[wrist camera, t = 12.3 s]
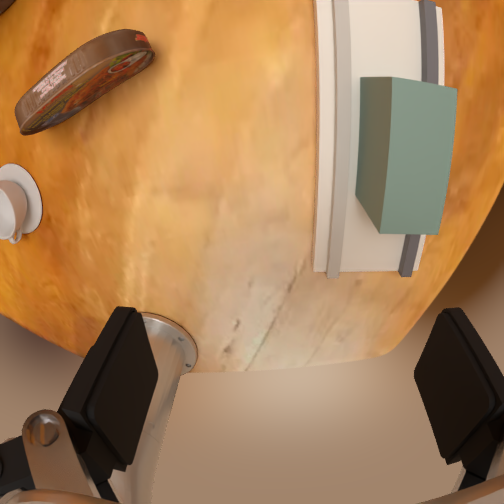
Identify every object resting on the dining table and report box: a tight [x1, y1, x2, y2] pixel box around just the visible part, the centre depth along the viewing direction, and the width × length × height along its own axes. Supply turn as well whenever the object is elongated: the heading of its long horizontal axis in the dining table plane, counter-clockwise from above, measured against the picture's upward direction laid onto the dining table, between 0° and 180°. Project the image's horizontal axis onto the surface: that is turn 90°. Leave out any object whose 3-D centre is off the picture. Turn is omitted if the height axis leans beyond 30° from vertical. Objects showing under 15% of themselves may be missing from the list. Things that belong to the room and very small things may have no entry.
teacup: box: [0, 164, 42, 244], centre depth 31 cm, size 10×10×5 cm
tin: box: [15, 29, 155, 135], centre depth 22 cm, size 15×3×8 cm, turn 112°
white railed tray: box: [312, 0, 444, 278], centre depth 26 cm, size 28×12×3 cm, turn 2°
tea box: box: [355, 77, 457, 235], centre depth 22 cm, size 5×11×8 cm, turn 2°
